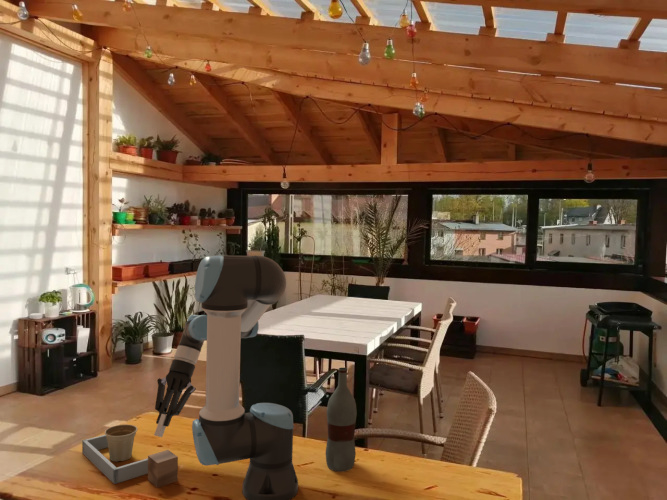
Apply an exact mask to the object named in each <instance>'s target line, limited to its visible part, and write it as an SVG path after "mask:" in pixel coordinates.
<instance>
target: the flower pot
mask: <svg viewBox="0 0 667 500" xmlns="http://www.w3.org/2000/svg"><path fill="white" fill-rule="evenodd" d="M137 431H138V426H136V425H133V424H116V425H112V426H111V427H108V428H107V429H105V430H104V435H106V438H107V441H108V447H107V448H108V455H109V461H112V462H116V463H117V462H119V461H121V462H124V461H127V460H129V459H131V458H132V455H133V449H134V448H133V447H134V443H135V442H134V441H135V437H136V434H137Z"/></svg>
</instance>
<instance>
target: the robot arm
mask: <svg viewBox="0 0 667 500" xmlns="http://www.w3.org/2000/svg"><path fill="white" fill-rule="evenodd" d="M194 282H195V284H194V298H195V301H196V302H197V303H199V304H201V310H203V312H205V313H206V314H201V315H199V314H191V315H189V317H188V319H187V321H186V323H185V324H184V325H185V326H184V329H183V332H182V335H181V337H180V341H179V343H178V345H177V347H176V350H175V354H174V356H173V358H174V359H173V360H172V362H171V363H170V367H169V370H168V373H167V374H166V376H165V377H163V378H157V393H156V399H155V406H154V410H156V411H157V412H158V416H157V419H156V421H155V422H156V423H155V424H156V425H157V426H156V428H155V431H154V433H153V435H154V436H156V437H158V438H159V437H160V438H163V436H164V433H165V430H166V427H169V426H170V424H171V421H172V418H173V417H174V416H179V415H180V414H181V412H182V410H183V408H184V407H185V405H186V403H187V402H188V400H189V398H190V396H191V395H192V394H193V393H194V392H195V391H196V387H195V386H194V385H193V384H192V377H193V375H194V372H195V369H196V364H197V363H198V359H199V357H200V353H201V352H202V348H203V346H204V343H205V341H206V360H205V361H206V365H205V405H204V406H202V408H200V410H199V412H198V413H199V414H198V415H199V417H198V418H196V419H194V420H192V425H191V431H192V438H193V444H194V449H195V454H196V456H197V460H198V462H199V463H200V464H201V465H203V466H207V467H208V466H215V465H216V466H218V465H221V464H226V463H228V464H229V463H233V462H239V461H243V460H249V463H248V464H249V465H248V467H247V471H246V474H245V478H244V479H243V482H242V495H243V496H244V498H246V499H247V500H292V499H293V498H295V496H297V494H298V491H299V480H298V476H297V474H296V473H297V472H296V470H295V466H294V463H293V454H294V453H293V451H294V450H293V449H294V448H293V445H294V443H293V442H294V428H295V426H294V415H293V412H292V410H291V409H289V408H288V407H286V406H284V405H281V404H278V403H273V402H258V403H255V404H252V405H251V406H250V409H249V412H245V411H246V410H245V408H244V407H243V406H242V405H241V404H240V385H241V384H240V382H241V381H240V380H241V379H240V375H241V374H240V373H241V342H242V341H241V339H248V338H254V337H256V336H257V335H258V333H259V320H260V319H261V318H262V316H263V315H264V314H265V313H266V311H267V310H268V309H269V308H270V306H271V305H275V304H276V303H277V302H279V301H280V299H282V297H283V295H284V294H285V291H286V288H287V278H286V274H285V272H284V270H283V269H282V267H281V265H279V263H277V262H276V261H275V260H273V259H272V258H269V257H266V256H262V255H223V254H221V255H220V254H219V255H210V256H209V255H208V256H206V257H203V258H202V259H201V261H200V263H199V264H198V268H197V271H196V276H195V281H194ZM166 384H167V387H166ZM165 389H166V390H165ZM183 391H184V392H183Z"/></svg>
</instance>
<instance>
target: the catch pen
mask: <svg viewBox="0 0 667 500" xmlns="http://www.w3.org/2000/svg"><path fill="white" fill-rule="evenodd" d="M81 445H82V449H81V450H82V451H81V452H82V454H83V455H84V456H85V457H86V458H87V459H88V460H89V461H90V462H91V463H92V464H93V465H94V466H95V467H96V468H97V469H98V470H99V471H100V472H101V473H102V474H103V475H104V476H105V477H106V478H108V480H109V481H110V482H111V483H112V484H113V485H115V484H116V485H117V484H119V483H122V482H125V481H128V480H131V479H135V478H137V477H140V476H144V475H148V457H147V458H144V459H141V460H138V461H134V462H131V463H127V464H124V465H121V466H118V467H116V466H115V464H113V463H112V462H111V460H110V459H108V458H107V457H106V456H104V455H103V453H101V452H100V450H102V449H107V448H108V441H107V438H106V435H105V434H101V435H98V436H95V437H90V438H86V439H83V440H82V443H81Z"/></svg>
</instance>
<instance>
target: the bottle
mask: <svg viewBox="0 0 667 500" xmlns="http://www.w3.org/2000/svg"><path fill="white" fill-rule="evenodd" d="M337 369H338V381H337V387H336V388H335V390H334V392H333V393H332V394H331V396H330V397H329V398H328V402H327V408H326V420H327V421H326V422H327V441H326V447H325V461H326V466H327V468H328V469H329V470H331V471H333V472H340V473H341V472H348V471H351V470H353V467H354V466H355V460H356V455H357V454H356V453H357V452H356V443H355V433H356V432H355V430H356V422H357V416H358V413H357V410H358V409H357V403H356V399H355V398H354V396H353V394H352V393H351V391H350V389H349V388H348V386H347V385H348V383H347V382H348V381H347V380H348V368H347V367H339V368H337Z"/></svg>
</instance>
